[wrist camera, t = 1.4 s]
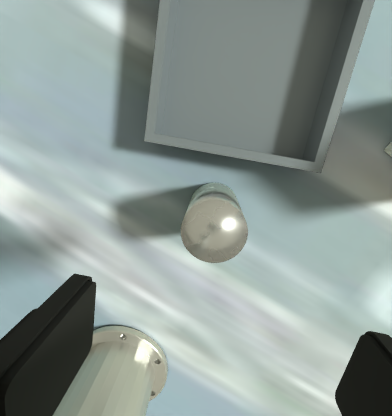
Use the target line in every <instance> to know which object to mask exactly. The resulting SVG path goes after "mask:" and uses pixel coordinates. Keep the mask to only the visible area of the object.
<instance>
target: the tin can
mask: <svg viewBox="0 0 392 416" xmlns="http://www.w3.org/2000/svg"><path fill="white" fill-rule="evenodd" d="M247 236H248V228H247V223H246V220H245V218H244V215H243V213H242V211H241V208H240V206H239V203H238V201H237V198H236V196H235V194H234V193H233V191H232V190H231V189H230V188H229V187H227V186H225V185H223V184H220V183H208V184H205V185H202V186H201V187H199V188H198V189H197V190H196V191H195V192H194V194H193V196H192V198H191V200H190V203H189V206H188V208H187V211H186V214H185V216H184V219H183V222H182V225H181V237H182V241H183V243H184V246H185V247H186V249H187V250H188V251H189V252H190V253H191V254H192V255H193V256H194V257H196V258H198V259H200V260H202V261H205V262H210V263H219V262H224V261H227V260H229V259H231V258H233V257H235V256H236V255H237V254H238V253H239V252H240V251H241V250H242V248H243V247H244V245H245V243H246V240H247Z"/></svg>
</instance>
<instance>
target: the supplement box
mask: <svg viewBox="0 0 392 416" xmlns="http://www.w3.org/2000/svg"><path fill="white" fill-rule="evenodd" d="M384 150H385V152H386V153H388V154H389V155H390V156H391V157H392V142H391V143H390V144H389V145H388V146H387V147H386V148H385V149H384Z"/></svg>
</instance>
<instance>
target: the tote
mask: <svg viewBox="0 0 392 416" xmlns="http://www.w3.org/2000/svg"><path fill="white" fill-rule="evenodd" d="M374 2H375V0H160V3H159V12H158V21H157V30H156V39H155V48H154V57H153V66H152V75H151V84H150V93H149V102H148V112H147V121H146V130H145V139H144V141H146V142H152V143H157V144H163V145H168V146H174V147H179V148H185V149H190V150H196V151H201V152H207V153H212V154H218V155H224V156H229V157H235V158H240V159H246V160H251V161H257V162H262V163H268V164H273V165H279V166H284V167H290V168H296V169H301V170H307V171H312V172H318V173H321V171H322V168H323V165H324V162H325V158H326V155H327V152H328V149H329V146H330V142H331V139H332V136H333V133H334V130H335V126H336V123H337V120H338V117H339V114H340V110H341V107H342V104H343V101H344V98H345V94H346V91H347V88H348V85H349V82H350V78H351V75H352V72H353V69H354V66H355V62H356V59H357V56H358V53H359V50H360V46H361V43H362V40H363V37H364V34H365V30H366V27H367V24H368V21H369V18H370V14H371V11H372V8H373V5H374Z"/></svg>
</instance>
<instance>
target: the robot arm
mask: <svg viewBox="0 0 392 416" xmlns="http://www.w3.org/2000/svg"><path fill="white" fill-rule="evenodd" d="M95 296H96V283H95V282H92V278H91V277H89V276H84V275H79V274H73V275H72V276H71V277H70V278H69V279H68V280H67V281H66V282H65V283H64V284H63V285H62V286H60V287H59V288H58V289H57V290H56V291H55V292H54V293H53V294H52V295H51V296H50V297H49V298H48V299H47V300H46V301H45V302H44V303H43V304H42V305H41V306H40V307H39V308H38V309H34V310H32V311H31V312H30V313H28V314H27V315H26V316H25V317H24V318H23V319H22V320H21V321H20V322H19V323H18V324H17V325H16V326H15V327H14V328H12V329H11V330H10V331H9V332H8V333H7V334H6V335H5V336H4V337H3V338H2V339H1V340H0V416H145V415H146V411H147V407H148V403H149V401H151V400H152V399H154V398H155V397H156V396H157V395H158V394H159V393H160V392H161V391H162V389H163V387H164V385H165V382H166V379H167V373H168V364H167V360H166V357H165V355H164V353H163V351H162V349H161V348H160V347H159V345H158V344H157V343H156V342H155V341H154V340H153V339H151V338H150V337H149V336H147V335H146V334H144V333H142V332H140V331H138V330H135V329H133V328H129V327H124V326H106V327H102V328H98V329H96V330H94V331H93V327H94V311H95ZM335 399H336V403H337V405H338V408H339V410H340V412H341V414H342V416H392V338H391V337H390V336H389V335H386V334H382V333H377V332H371V331H368V332H366V333H365V334H364V335H362V336H361V337H360V338H359V341H358V343H357V345H356V347H355V349H354V352H353V354H352V356H351V358H350V361H349V363H348V365H347V367H346V369H345V372H344V374H343V376H342V378H341V381H340V383H339V385H338V387H337V389H336V392H335Z"/></svg>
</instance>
